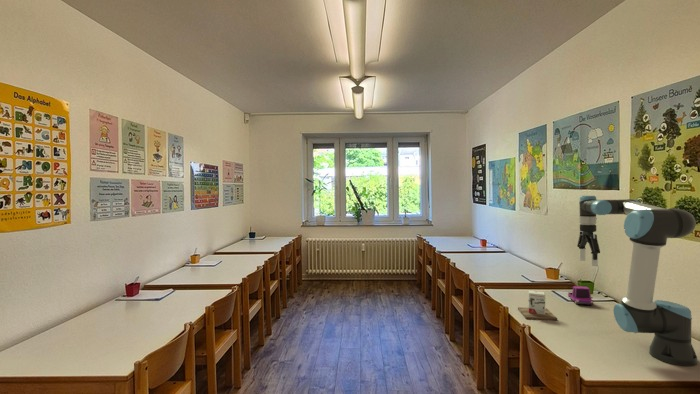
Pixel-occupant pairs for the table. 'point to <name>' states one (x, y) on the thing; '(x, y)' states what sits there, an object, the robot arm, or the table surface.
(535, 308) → the ink box
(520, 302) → the table surface
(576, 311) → the table surface
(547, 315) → the walnut board
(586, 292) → the toy truck
